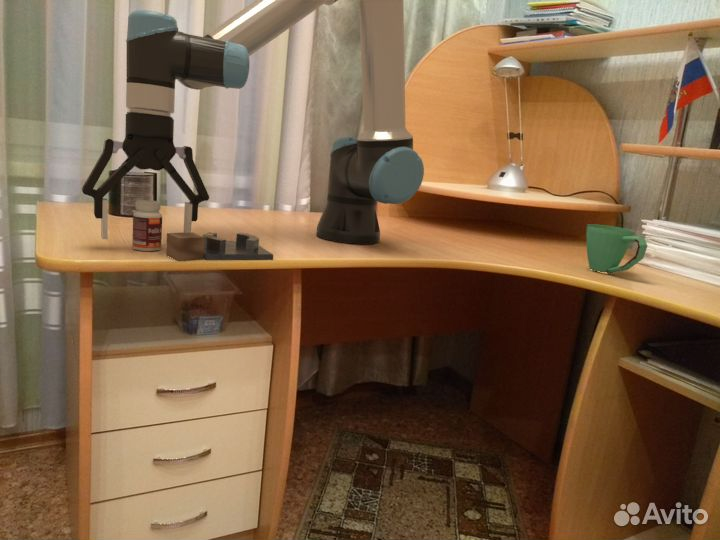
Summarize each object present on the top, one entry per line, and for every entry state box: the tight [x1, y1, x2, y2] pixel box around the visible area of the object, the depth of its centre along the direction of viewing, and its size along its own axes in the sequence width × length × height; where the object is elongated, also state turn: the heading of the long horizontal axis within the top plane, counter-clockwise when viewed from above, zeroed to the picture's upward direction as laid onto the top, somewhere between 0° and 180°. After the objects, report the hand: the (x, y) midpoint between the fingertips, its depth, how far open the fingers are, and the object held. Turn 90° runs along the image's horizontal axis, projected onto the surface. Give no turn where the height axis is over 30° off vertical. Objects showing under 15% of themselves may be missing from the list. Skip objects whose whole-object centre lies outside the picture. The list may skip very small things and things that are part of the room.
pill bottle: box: [132, 199, 163, 252], centre depth 95 cm, size 5×5×8 cm
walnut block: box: [165, 231, 205, 262], centre depth 92 cm, size 4×4×4 cm
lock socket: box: [202, 232, 274, 261], centre depth 100 cm, size 12×12×3 cm
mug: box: [585, 223, 648, 274], centre depth 120 cm, size 15×10×10 cm
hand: (147, 238), depth 95 cm, fingers open, 13 cm apart
